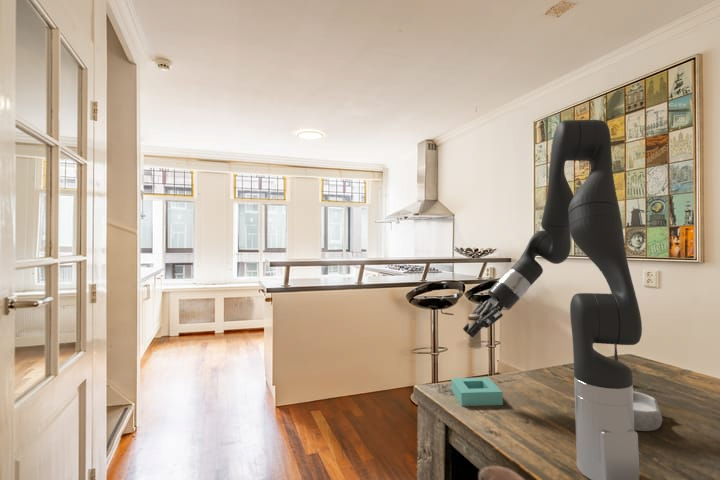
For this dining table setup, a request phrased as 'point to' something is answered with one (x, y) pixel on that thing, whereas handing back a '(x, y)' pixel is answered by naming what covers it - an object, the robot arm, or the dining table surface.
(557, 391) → the dining table surface
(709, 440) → the dining table surface
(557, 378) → the dining table surface
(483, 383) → the teal square frame
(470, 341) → the tan banded cylinder
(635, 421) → the dish
